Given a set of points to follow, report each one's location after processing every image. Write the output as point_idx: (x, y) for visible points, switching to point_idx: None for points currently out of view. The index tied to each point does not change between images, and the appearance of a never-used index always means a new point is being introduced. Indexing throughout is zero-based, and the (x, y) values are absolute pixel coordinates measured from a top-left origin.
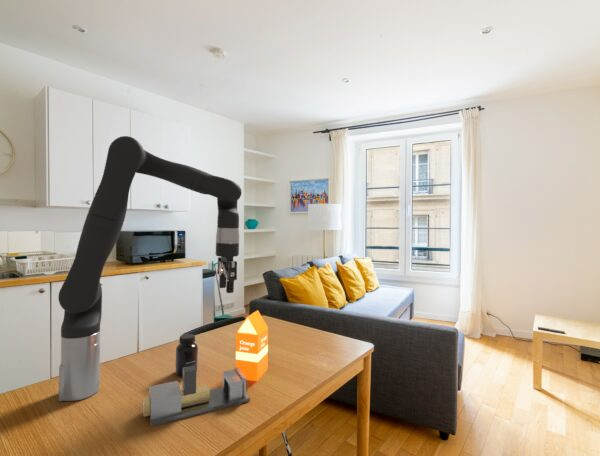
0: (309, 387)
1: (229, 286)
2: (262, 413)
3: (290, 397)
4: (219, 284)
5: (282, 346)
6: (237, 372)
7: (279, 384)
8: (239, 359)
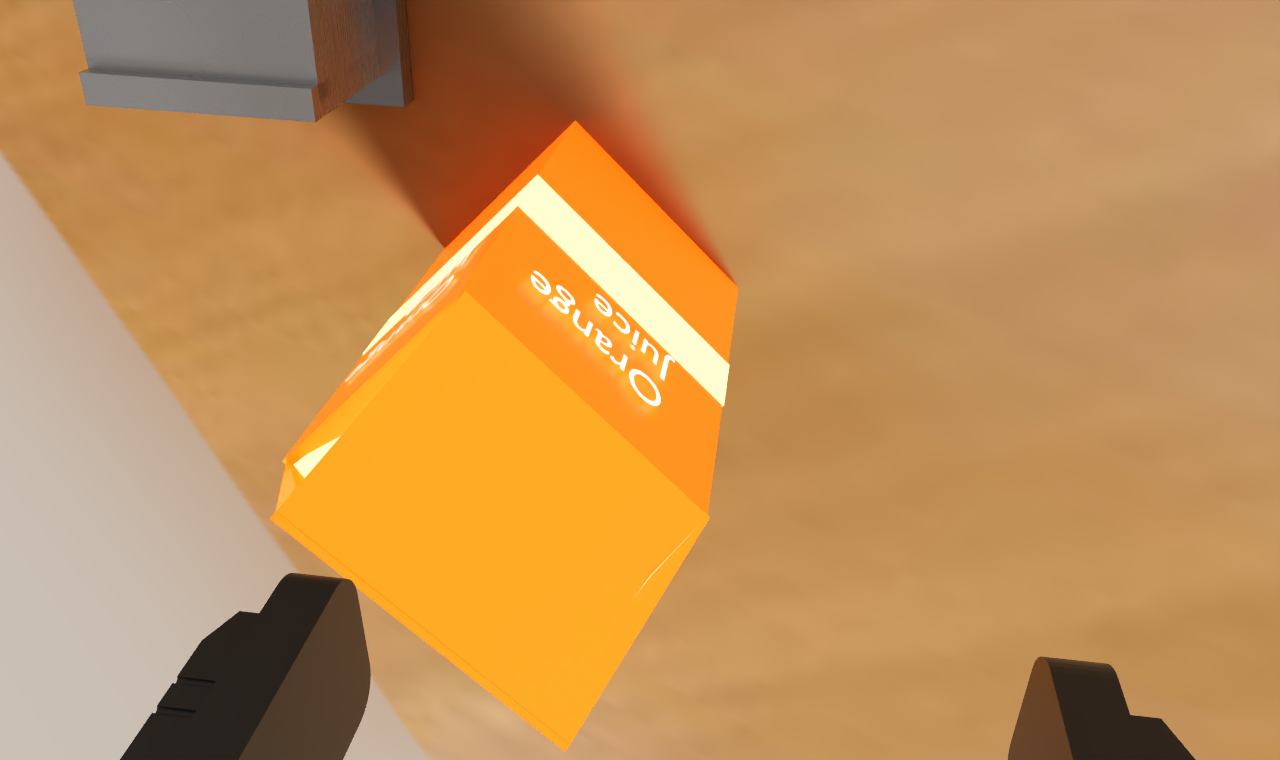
0: (243, 488)
1: (147, 734)
2: (14, 97)
3: (159, 337)
4: (1100, 729)
5: (950, 677)
6: (228, 79)
7: (342, 360)
8: (508, 203)
